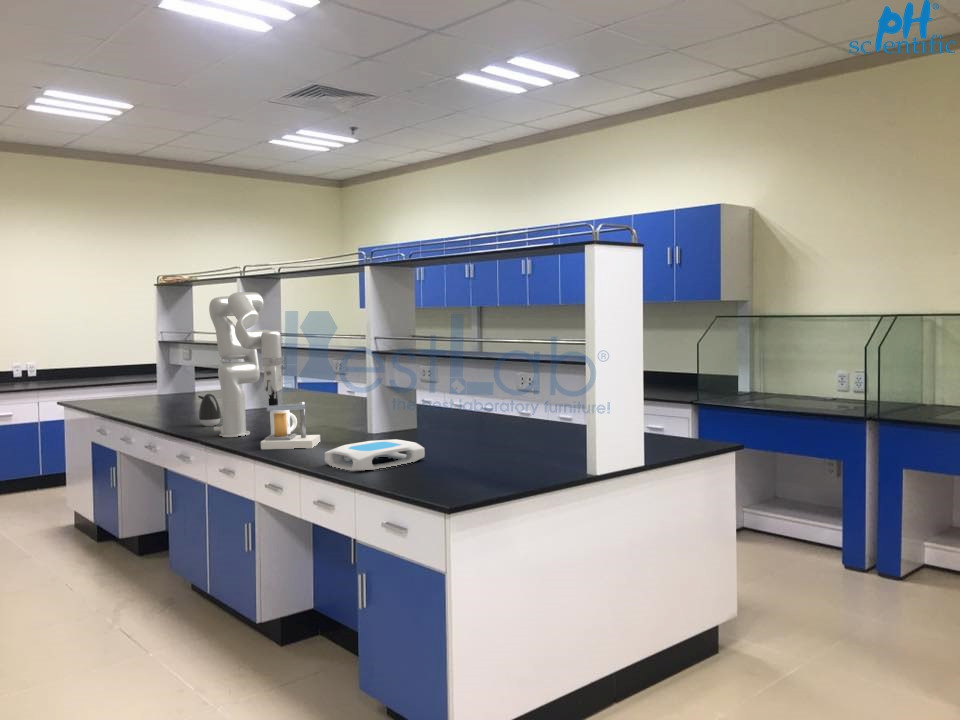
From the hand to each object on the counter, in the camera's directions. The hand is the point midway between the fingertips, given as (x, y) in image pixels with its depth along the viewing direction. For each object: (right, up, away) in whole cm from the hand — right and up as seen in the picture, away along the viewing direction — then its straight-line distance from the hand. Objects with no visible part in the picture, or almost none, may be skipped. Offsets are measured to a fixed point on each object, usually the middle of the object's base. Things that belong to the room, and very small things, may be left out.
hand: (273, 408), depth 310 cm
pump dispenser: (-46, -12, +61) cm, 78 cm away
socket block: (+7, -15, 0) cm, 16 cm away
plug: (+3, -12, 0) cm, 12 cm away
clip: (+6, -12, -1) cm, 13 cm away
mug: (-1, -14, +21) cm, 26 cm away
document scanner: (+45, -17, -38) cm, 62 cm away
